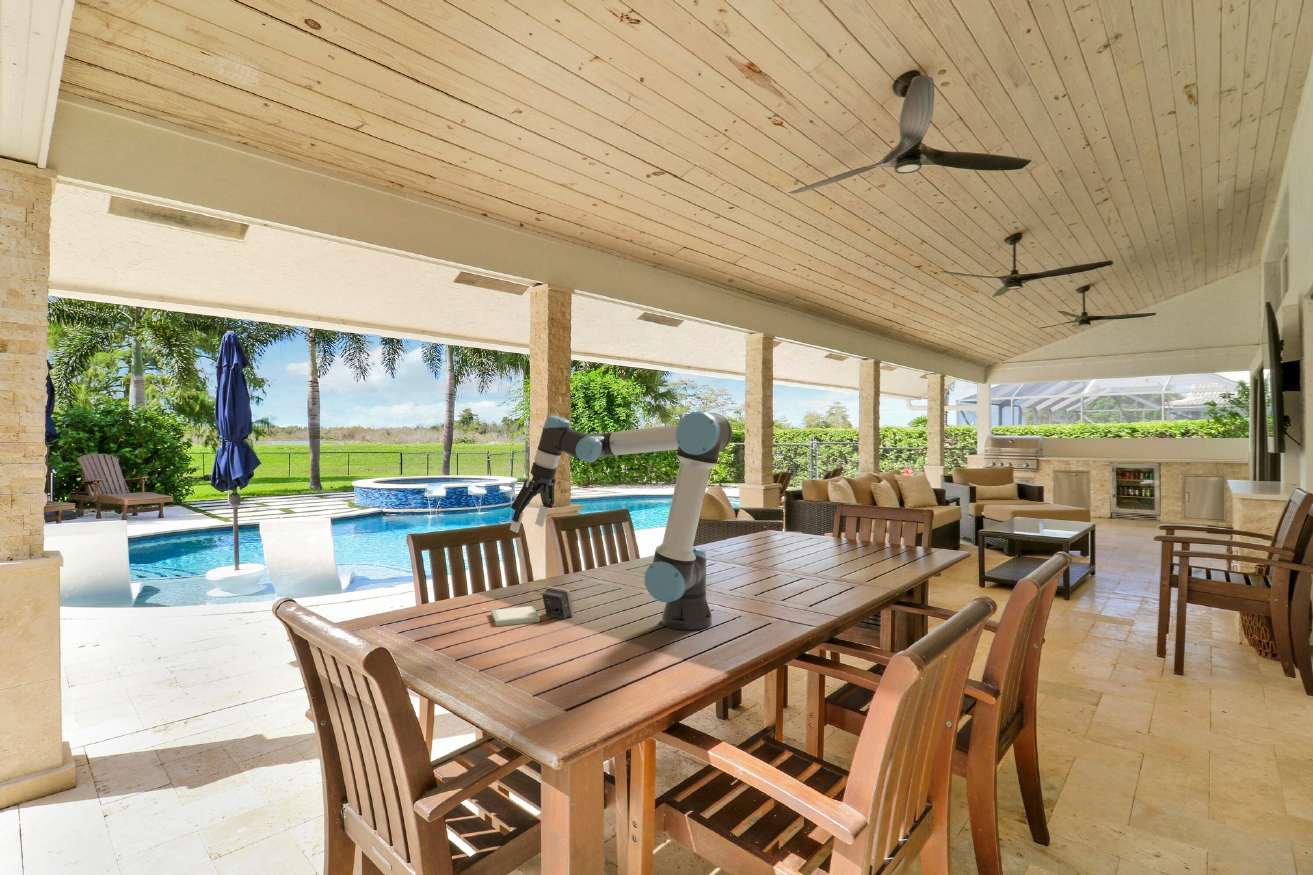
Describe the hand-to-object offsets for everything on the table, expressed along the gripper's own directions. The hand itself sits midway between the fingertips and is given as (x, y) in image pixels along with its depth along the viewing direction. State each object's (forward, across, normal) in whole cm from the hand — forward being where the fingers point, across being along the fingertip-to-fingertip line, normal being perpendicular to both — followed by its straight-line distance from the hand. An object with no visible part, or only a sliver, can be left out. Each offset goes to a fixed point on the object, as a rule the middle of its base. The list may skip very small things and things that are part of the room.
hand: (526, 528), depth 195 cm
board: (+27, +3, +7) cm, 28 cm away
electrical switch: (+24, -4, +18) cm, 30 cm away
